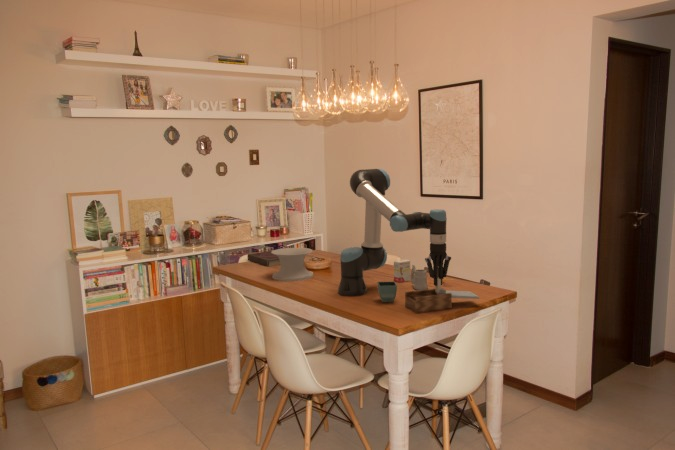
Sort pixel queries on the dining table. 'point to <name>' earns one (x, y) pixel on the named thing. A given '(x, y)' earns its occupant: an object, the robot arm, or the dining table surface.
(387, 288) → the flower pot
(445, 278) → the figurine
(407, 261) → the ink box
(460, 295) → the lid
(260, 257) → the book
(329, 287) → the dining table surface
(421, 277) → the mug
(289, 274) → the grey spool stand
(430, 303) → the box
